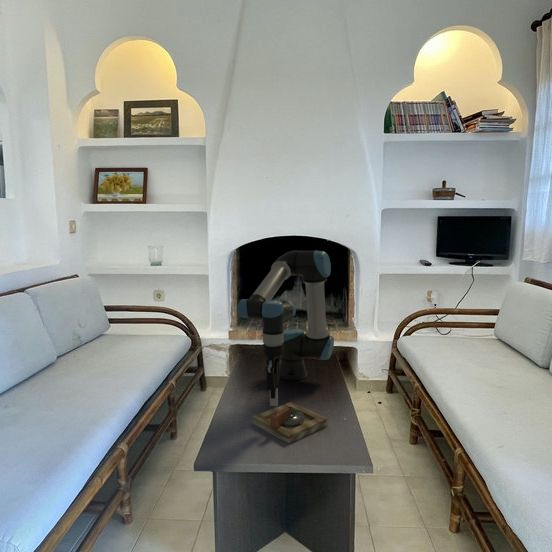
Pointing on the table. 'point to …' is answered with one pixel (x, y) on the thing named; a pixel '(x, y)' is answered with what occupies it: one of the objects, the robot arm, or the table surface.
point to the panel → (291, 433)
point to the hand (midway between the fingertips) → (273, 405)
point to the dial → (287, 418)
